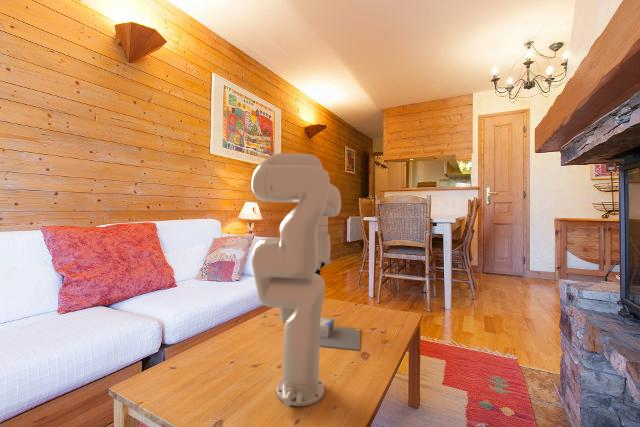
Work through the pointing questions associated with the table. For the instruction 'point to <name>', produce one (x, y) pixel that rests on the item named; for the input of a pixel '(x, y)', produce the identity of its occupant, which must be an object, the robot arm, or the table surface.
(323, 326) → the medicine box
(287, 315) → the house plant
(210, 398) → the table surface
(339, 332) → the mat
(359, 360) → the table surface
